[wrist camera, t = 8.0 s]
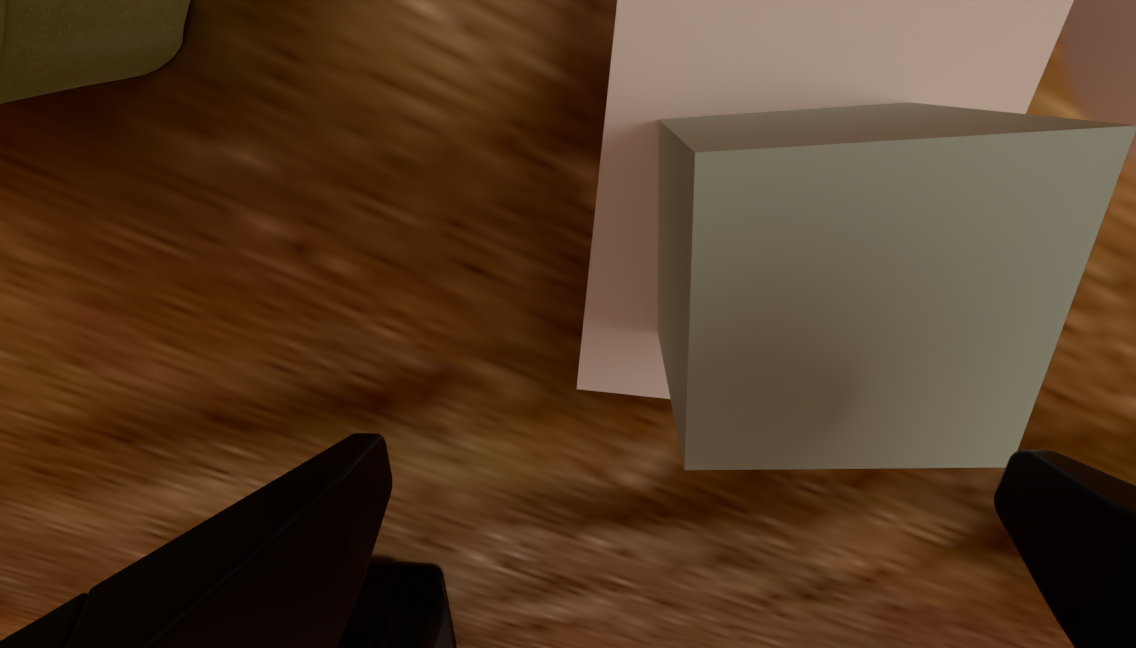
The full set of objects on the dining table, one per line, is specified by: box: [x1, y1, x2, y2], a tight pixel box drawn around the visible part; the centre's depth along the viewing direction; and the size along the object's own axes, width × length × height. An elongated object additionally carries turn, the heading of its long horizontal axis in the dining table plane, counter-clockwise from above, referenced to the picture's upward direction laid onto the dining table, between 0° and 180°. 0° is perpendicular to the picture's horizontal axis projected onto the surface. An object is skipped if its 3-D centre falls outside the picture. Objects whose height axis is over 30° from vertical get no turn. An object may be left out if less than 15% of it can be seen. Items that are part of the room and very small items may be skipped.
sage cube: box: [658, 102, 1136, 470], centre depth 12 cm, size 6×6×6 cm
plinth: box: [577, 0, 1074, 399], centre depth 16 cm, size 12×10×4 cm
